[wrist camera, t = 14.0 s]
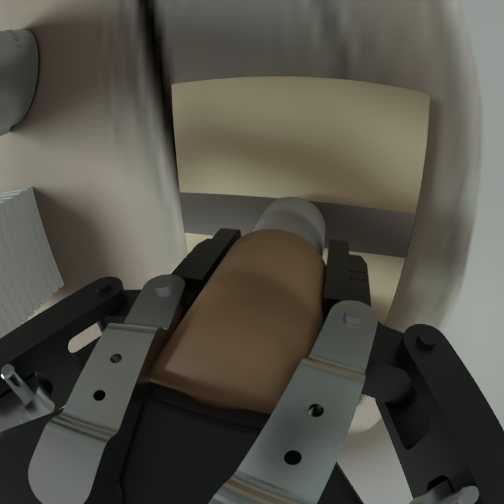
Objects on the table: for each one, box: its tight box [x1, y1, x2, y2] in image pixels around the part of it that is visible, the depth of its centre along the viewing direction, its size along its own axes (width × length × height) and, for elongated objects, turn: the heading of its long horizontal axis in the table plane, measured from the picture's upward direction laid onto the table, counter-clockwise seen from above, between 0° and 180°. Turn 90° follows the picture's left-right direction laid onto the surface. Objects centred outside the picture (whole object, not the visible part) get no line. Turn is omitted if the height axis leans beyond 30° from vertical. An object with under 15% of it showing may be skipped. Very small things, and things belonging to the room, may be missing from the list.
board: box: [171, 76, 430, 325], centre depth 17 cm, size 24×12×1 cm, turn 1°
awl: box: [150, 196, 327, 414], centre depth 9 cm, size 4×4×10 cm
